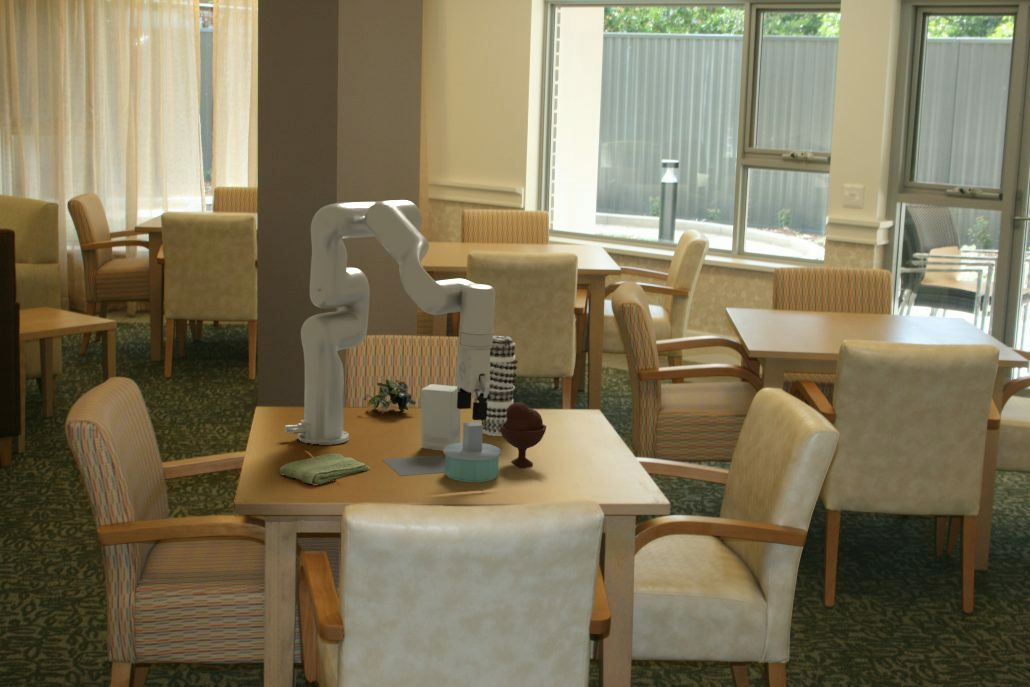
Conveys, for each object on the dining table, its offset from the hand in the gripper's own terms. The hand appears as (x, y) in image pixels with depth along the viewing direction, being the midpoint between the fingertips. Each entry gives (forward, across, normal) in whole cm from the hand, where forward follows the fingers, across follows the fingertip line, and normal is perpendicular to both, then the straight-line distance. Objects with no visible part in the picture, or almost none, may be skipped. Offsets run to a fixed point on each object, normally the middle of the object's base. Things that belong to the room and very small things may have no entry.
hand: (471, 413), depth 285 cm
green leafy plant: (+16, -61, +1) cm, 64 cm away
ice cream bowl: (+15, -5, +16) cm, 22 cm away
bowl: (+14, +1, +1) cm, 15 cm away
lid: (+9, +1, 0) cm, 9 cm away
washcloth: (+16, -10, -30) cm, 36 cm away
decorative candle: (+15, -35, +22) cm, 44 cm away
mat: (+15, -9, -8) cm, 19 cm away
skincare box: (+15, -23, +2) cm, 28 cm away
